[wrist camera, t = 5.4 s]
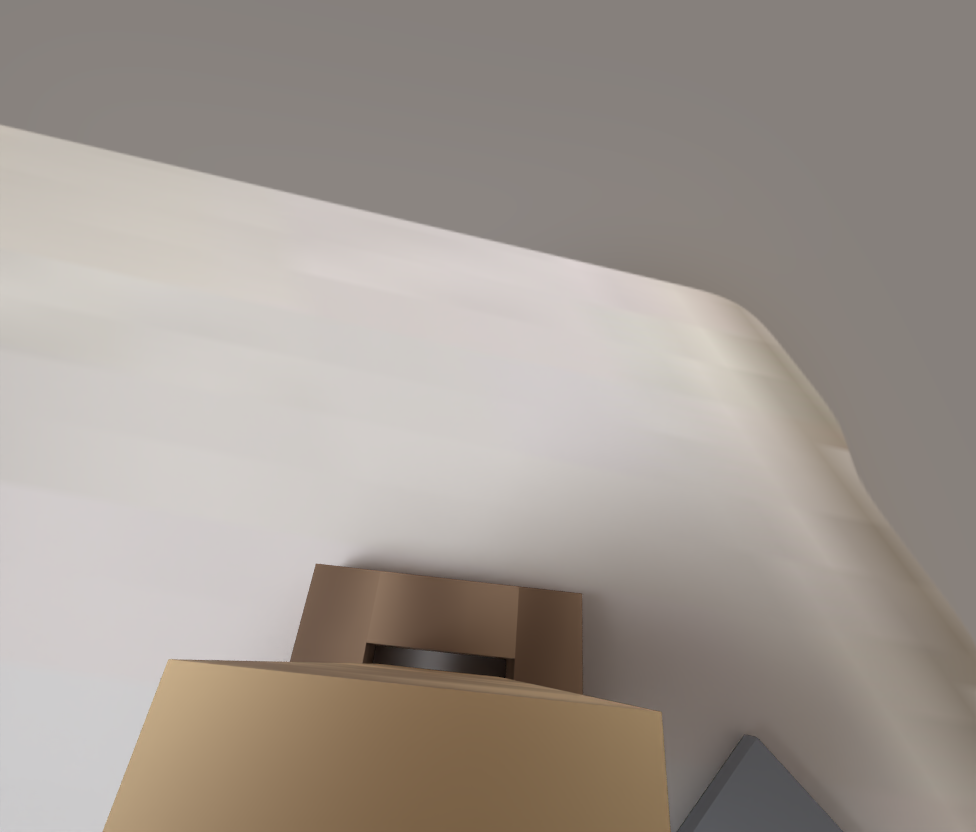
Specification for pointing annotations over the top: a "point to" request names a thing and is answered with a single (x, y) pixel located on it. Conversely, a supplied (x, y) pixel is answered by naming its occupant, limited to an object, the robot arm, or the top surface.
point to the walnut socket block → (443, 622)
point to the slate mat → (756, 797)
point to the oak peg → (386, 754)
